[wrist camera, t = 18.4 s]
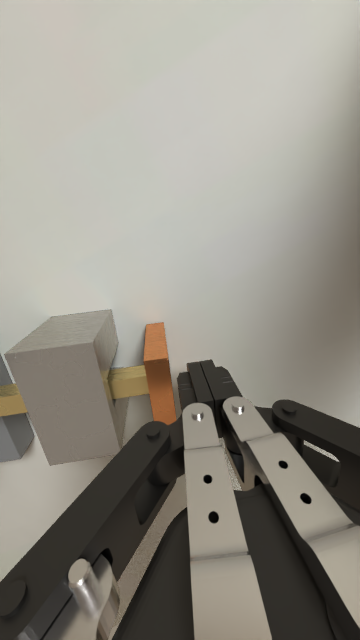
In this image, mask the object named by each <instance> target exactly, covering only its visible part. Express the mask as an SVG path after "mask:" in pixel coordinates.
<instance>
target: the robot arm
mask: <svg viewBox="0 0 360 640" xmlns="http://www.w3.org/2000/svg"><path fill="white" fill-rule="evenodd" d="M187 371H188V372H183V373H179V376H178V378H177V382H178V390H179V397H180V404H181V410H182V414H181V416H180V418H179V419H178V420H176V421H175V422H173V423H171V424H169V425H167V424H165V423H164V422H161V421H152V422H149V423H147V424H145V425H144V426H142V427H141V428H140V430H139V431H138V432H137V433H136V434H135V435H134V436H133V437H132V438H131V439H130V440H129V442H128V443H127V444H126V445H125V446H124V447H123V448H122V449H121V450H120V451H119V453H118V454H117V455H116V456H115V457H114V458H113V459H112V460H111V461H110V462H109V463H108V465H107V466H106V467H105V468H104V469H103V470H102V471H101V472H100V473H99V474H98V476H97V477H96V478H95V479H94V480H93V481H92V482H91V483H90V484H89V485H88V487H87V488H86V489H85V490H84V491H83V492H82V493H81V494H80V495H79V496H78V497H77V499H76V500H75V501H74V502H73V503H72V504H71V505H70V506H69V507H68V508H67V510H66V511H65V512H64V513H63V514H62V515H61V516H60V517H59V518H58V519H57V521H56V522H55V523H54V524H53V525H52V526H51V527H50V528H49V529H48V530H47V531H46V533H45V534H44V535H43V536H42V537H41V538H40V539H39V540H38V541H37V542H36V544H35V545H34V546H33V547H32V548H31V549H30V550H29V551H28V552H27V553H26V555H25V556H24V557H23V558H22V559H21V560H20V561H19V562H18V563H17V564H16V565H15V567H14V568H13V569H12V570H11V571H10V572H9V573H8V574H7V575H6V576H5V578H4V579H3V580H2V581H1V582H0V640H108V637H109V634H110V631H111V629H112V626H113V624H114V622H115V619H116V616H117V613H118V609H119V603H120V592H119V587H118V584H117V581H118V580H119V578H120V576H121V575H122V573H123V571H124V570H125V568H126V566H127V565H128V563H129V561H130V559H131V558H132V556H133V554H134V553H135V551H136V549H137V548H138V546H139V544H140V543H141V541H142V539H143V538H144V536H145V534H146V532H147V531H148V529H149V527H150V526H151V524H152V522H153V521H154V519H155V517H156V516H157V514H158V512H159V511H160V509H161V507H162V505H163V504H164V502H165V500H166V499H167V497H168V495H169V494H170V492H171V490H172V489H173V487H174V485H175V483H176V480H177V478H178V477H180V476H181V475H183V474H185V477H186V493H187V507H186V508H185V509H184V510H182V511H181V512H180V513H179V514H178V515H177V516H176V517H175V518H174V519H173V521H172V522H171V523H170V525H169V526H168V528H167V530H166V531H165V533H164V535H163V537H162V539H161V541H160V543H159V545H158V547H157V549H156V551H155V553H154V555H153V557H152V560H151V562H150V564H149V566H148V568H147V570H146V572H145V574H144V576H143V578H142V580H141V582H140V584H139V586H138V588H137V590H136V592H135V594H134V596H133V598H132V600H131V602H130V604H129V606H128V608H127V610H126V612H125V614H124V616H123V618H122V620H121V622H120V624H119V626H118V628H117V630H116V632H115V634H114V636H113V638H112V640H360V428H358V427H356V426H354V425H351V424H349V423H346V422H344V421H341V420H339V419H336V418H334V417H331V416H329V415H326V414H324V413H322V412H319V411H317V410H314V409H312V408H309V407H307V406H304V405H302V404H299V403H297V402H294V401H291V400H279V401H276V402H275V403H274V404H273V406H272V408H261V407H256V406H253V404H252V403H251V402H250V401H249V400H248V399H246V398H243V396H242V395H241V393H240V391H239V389H238V388H237V386H236V384H235V382H234V381H233V379H232V377H231V375H230V374H229V372H228V370H226V369H225V368H223V367H222V366H221V367H215V365H214V363H213V361H212V360H205V361H200V362H193V363H187ZM222 437H223V438H224V441H225V451H226V454H227V456H228V459H229V461H230V463H231V465H232V468H233V470H234V472H235V475H236V477H237V479H238V482H239V484H240V486H241V489H242V491H237V490H233V487H232V483H231V479H230V475H229V471H228V467H227V463H226V459H225V455H224V451H223V447H222V445H220V443H219V438H222ZM304 440H305V441H307V442H309V443H311V444H313V445H315V446H317V447H319V448H321V449H323V450H325V451H327V452H329V453H331V454H333V455H334V456H335V457H336V458H337V459H338V460H339V461H340V462H337V461H335V460H333V459H331V458H329V457H327V456H325V455H323V454H321V453H319V452H317V451H316V450H314V449H312V448H310V447H308V446H306V445H304Z"/></svg>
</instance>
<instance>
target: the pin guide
mask: <svg viewBox="0 0 360 640" xmlns="http://www.w3.org/2000/svg"><path fill="white" fill-rule="evenodd" d="M117 345H118V339H117V334H116V329H115V324H114V320H113V315H112V310H111V309H110V310H102V311H94V312H86V313H78V314H70V315H62V316H54V317H51V318H49V319H48V320H47V321H46V322H44V323H43V324H42V325H41V326H39V327H38V328H37V329H35V330H34V331H33V332H32V333H30V334H29V335H28V336H27V337H25V338H24V339H23V340H21V341H20V342H19V343H18V344H16V345H15V346H14V347H13V348H11V349H10V350H9V351H8V352H6V353H5V354H4V355H5V358H6V360H7V363H8V365H9V368H10V370H11V372H12V375H13V377H14V380H15V382H16V385H17V387H18V389H19V392H20V394H21V397H22V399H23V402H24V404H25V406H26V409H27V411H28V414H29V416H30V419H31V421H32V423H33V426H34V428H35V431H36V433H37V436H38V438H39V440H40V443H41V445H42V448H43V450H44V453H45V455H46V458H47V460H48V462H49V465H50V466H51V465H57V464H63V463H68V462H74V461H80V460H86V459H92V458H98V457H103V456H109V455H115V454H118V453H119V451H120V450H121V449H122V442H123V435H124V428H125V421H126V414H127V408H128V401H129V397H124V398H117V399H112V397H111V393H110V389H109V384H108V380H107V377H108V373H109V370H113V369H120V368H124V367H120V368H113V369H110V367H111V364H112V361H113V358H114V355H115V352H116V349H117Z"/></svg>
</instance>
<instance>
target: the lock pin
mask: <svg viewBox="0 0 360 640" xmlns="http://www.w3.org/2000/svg"><path fill="white" fill-rule="evenodd" d="M107 380H108V384H109V389H110V393H111V397H112V399H117V398H124V397H130V396H137V395H143V394H149V395H150V401H151V406H152V412H153V418H154V421H161V422H164V423H165V424H167V425H169V424H171V423H173V422H175V421H176V413H175V405H174V397H173V390H172V382H171V374H170V367H169V359H168V352H167V344H166V337H165V329H164V322H162V323H155V324H147V325H146V334H145V349H144V365H141V366H134V367H127V368H120V369H113V370H109V373H108V377H107ZM26 412H28V411H27V409H26V406H25V404H24V402H23V399H22V397H21V394H20V392H19V389H18V387H17V385H16V384H9V385H2V386H0V416H7V415H13V414H20V413H26Z"/></svg>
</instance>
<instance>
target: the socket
mask: <svg viewBox="0 0 360 640" xmlns="http://www.w3.org/2000/svg"><path fill="white" fill-rule="evenodd" d="M9 384H12V381H11V379H10V376H9V374H8V372H7V369H6V367H5V364H4V362H3V360H2V357H1V355H0V386H2V385H9ZM33 438H34V434H33V432H32V429H31V427H30V424H29V422H28V420H27V417H26V415H25V413H20V414H13V415H7V416H0V462H5V461H11V460H17V459H21V458H22V456H23V454H24V453H25V451H26V449H27V448H28V446H29V444H30V443H31V441H32V439H33Z"/></svg>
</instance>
